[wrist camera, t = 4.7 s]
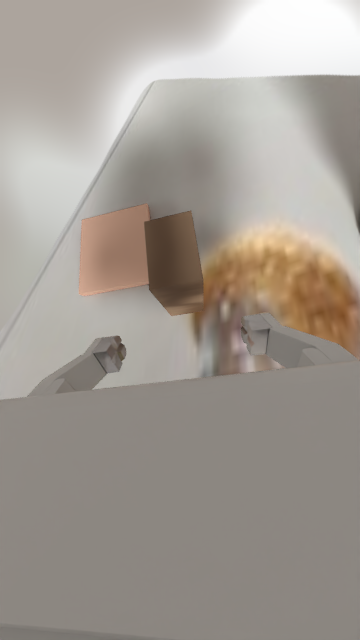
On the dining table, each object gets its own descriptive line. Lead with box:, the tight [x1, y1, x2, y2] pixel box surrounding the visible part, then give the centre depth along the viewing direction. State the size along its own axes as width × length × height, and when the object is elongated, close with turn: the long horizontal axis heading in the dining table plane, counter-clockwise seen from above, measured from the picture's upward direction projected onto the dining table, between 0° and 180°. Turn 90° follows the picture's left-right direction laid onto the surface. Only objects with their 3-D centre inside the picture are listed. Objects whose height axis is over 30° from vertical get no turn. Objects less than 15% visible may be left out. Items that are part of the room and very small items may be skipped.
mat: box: [79, 203, 150, 296], centre depth 25 cm, size 12×14×1 cm
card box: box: [144, 211, 203, 316], centre depth 18 cm, size 4×7×9 cm, turn 8°
